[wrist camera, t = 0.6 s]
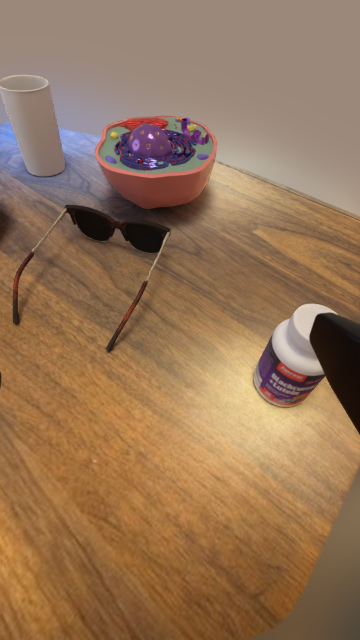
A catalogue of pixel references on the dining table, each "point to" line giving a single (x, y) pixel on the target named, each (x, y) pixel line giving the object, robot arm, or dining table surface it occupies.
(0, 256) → the dining table surface
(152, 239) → the sunglasses
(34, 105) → the mug
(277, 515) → the dining table surface
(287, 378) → the pill bottle
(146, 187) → the cell model
